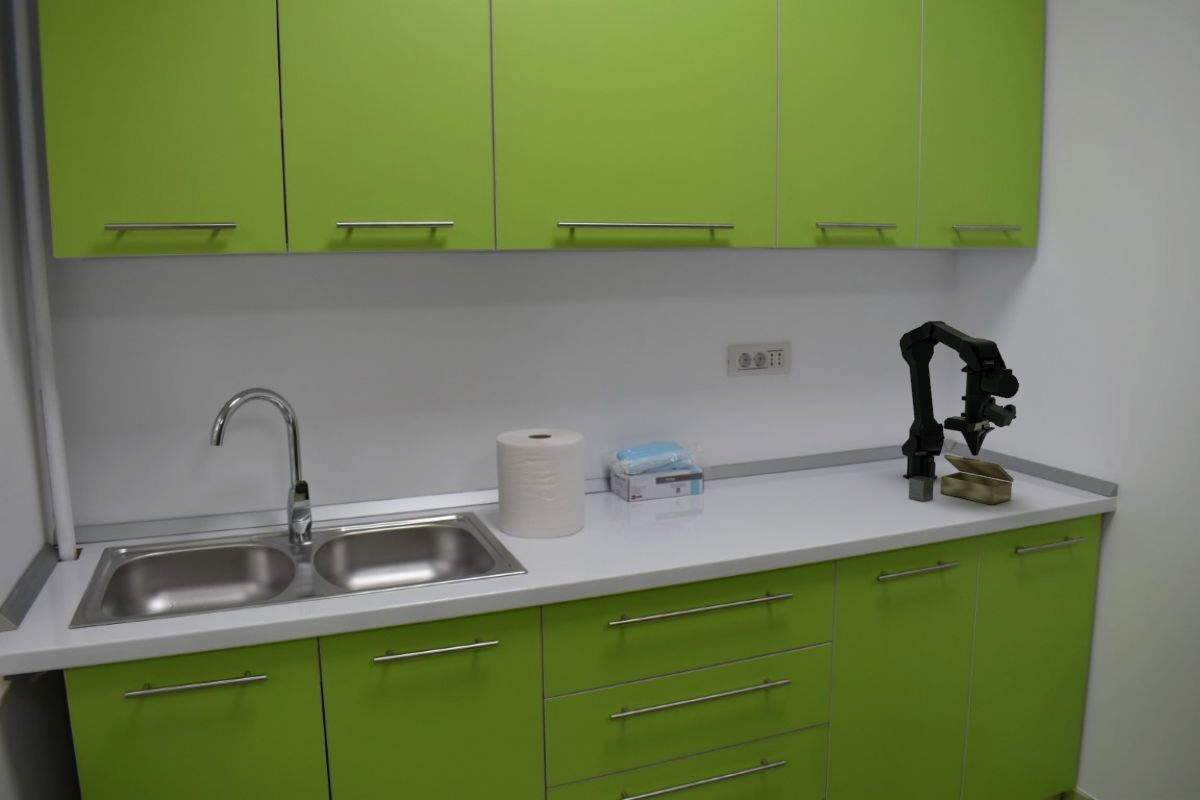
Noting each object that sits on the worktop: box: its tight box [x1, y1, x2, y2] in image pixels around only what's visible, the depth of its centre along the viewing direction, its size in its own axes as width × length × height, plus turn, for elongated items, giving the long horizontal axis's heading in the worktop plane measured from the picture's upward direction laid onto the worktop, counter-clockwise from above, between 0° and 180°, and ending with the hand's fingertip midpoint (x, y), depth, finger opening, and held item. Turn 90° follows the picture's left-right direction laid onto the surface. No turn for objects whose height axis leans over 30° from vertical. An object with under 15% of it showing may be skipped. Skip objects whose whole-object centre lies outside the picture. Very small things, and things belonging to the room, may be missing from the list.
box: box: [939, 471, 1013, 506], centre depth 215 cm, size 14×8×4 cm, turn 35°
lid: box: [943, 454, 1015, 483], centre depth 215 cm, size 14×9×1 cm
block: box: [908, 476, 935, 502], centre depth 214 cm, size 4×4×5 cm
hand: (974, 455), depth 214 cm, fingers closed
